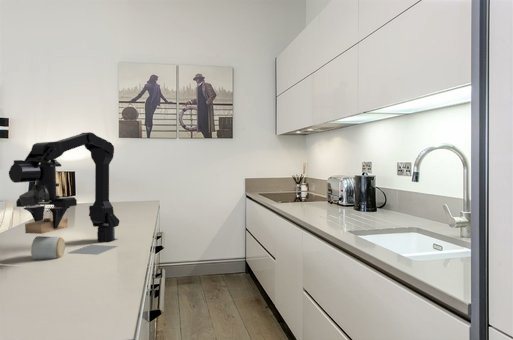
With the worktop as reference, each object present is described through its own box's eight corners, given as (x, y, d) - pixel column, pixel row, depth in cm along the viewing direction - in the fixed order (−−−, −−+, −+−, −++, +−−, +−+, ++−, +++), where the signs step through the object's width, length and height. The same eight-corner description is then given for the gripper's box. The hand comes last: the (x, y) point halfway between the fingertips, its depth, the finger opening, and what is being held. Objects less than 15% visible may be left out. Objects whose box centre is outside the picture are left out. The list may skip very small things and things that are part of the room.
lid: (52, 226, 122) (52, 215, 122) (67, 227, 121) (67, 216, 121) (25, 233, 111) (25, 221, 111) (41, 233, 110) (41, 221, 110)
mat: (90, 246, 133) (90, 244, 133) (118, 247, 131) (118, 246, 131) (66, 254, 122) (66, 252, 122) (97, 256, 119) (97, 254, 119)
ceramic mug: (58, 261, 114) (58, 237, 114) (30, 263, 112) (30, 238, 112) (69, 253, 124) (69, 231, 124) (43, 255, 122) (43, 232, 122)
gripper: (-1, 182, 110) (1, 232, 110) (50, 182, 106) (52, 234, 106) (30, 180, 121) (31, 225, 121) (77, 180, 117) (78, 227, 117)
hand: (47, 228), depth 116 cm, fingers closed on lid, 6 cm apart
